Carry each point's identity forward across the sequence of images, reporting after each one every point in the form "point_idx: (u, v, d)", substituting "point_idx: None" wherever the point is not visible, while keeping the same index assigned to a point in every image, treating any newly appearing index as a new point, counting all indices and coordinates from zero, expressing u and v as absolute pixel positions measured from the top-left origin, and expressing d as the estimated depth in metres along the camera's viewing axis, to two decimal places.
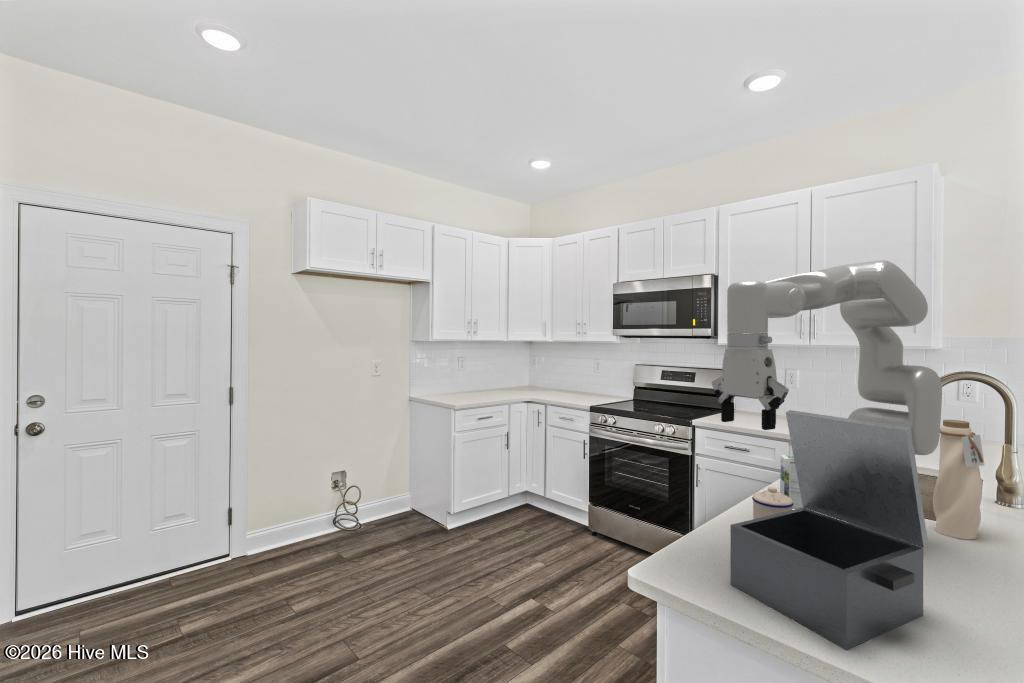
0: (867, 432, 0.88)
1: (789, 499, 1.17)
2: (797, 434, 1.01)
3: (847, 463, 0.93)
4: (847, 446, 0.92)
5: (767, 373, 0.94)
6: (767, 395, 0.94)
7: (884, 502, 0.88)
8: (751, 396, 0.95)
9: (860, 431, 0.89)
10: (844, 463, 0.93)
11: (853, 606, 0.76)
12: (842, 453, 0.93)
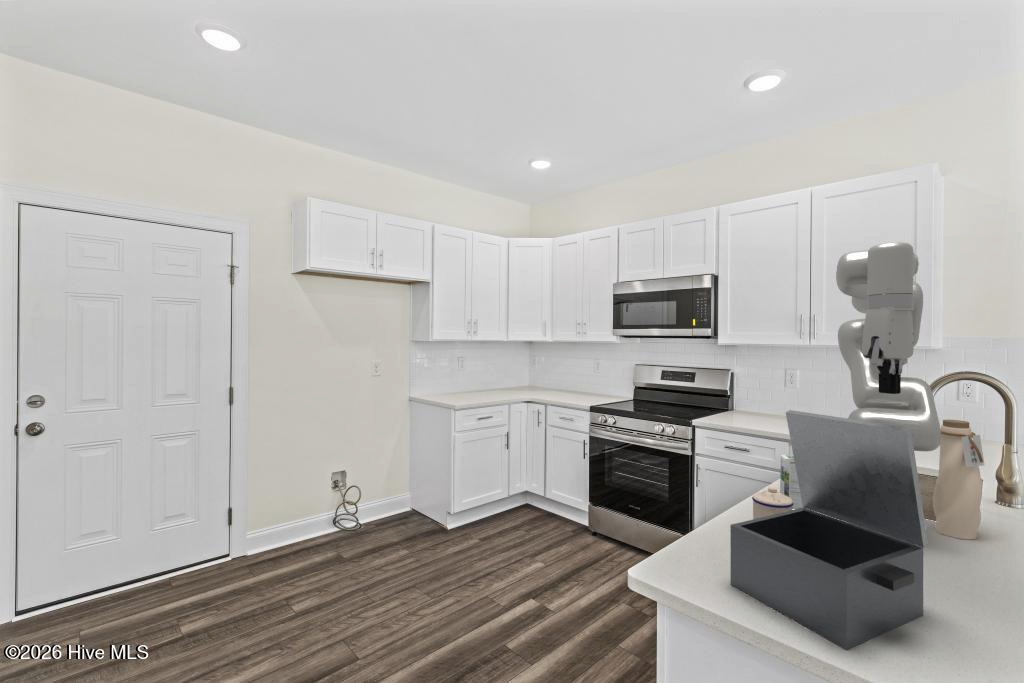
0: (867, 432, 0.88)
1: (789, 499, 1.17)
2: (797, 434, 1.01)
3: (847, 463, 0.93)
4: (847, 446, 0.92)
5: None
6: None
7: (884, 502, 0.88)
8: (908, 356, 0.98)
9: (860, 431, 0.89)
10: (844, 463, 0.93)
11: (853, 606, 0.76)
12: (842, 453, 0.93)
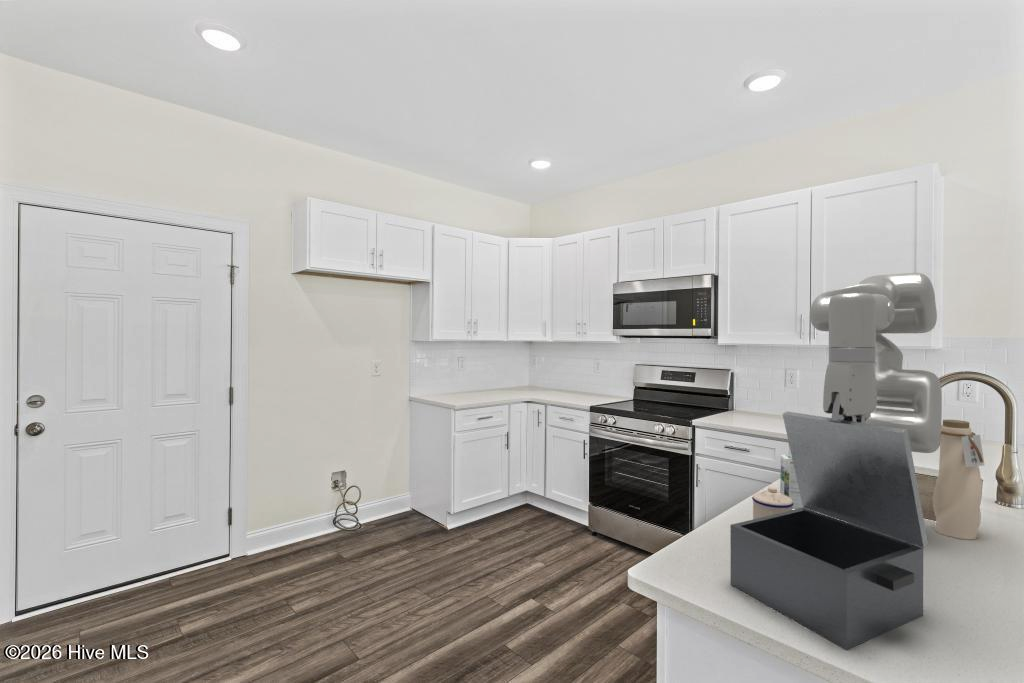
0: (864, 434, 0.87)
1: (789, 499, 1.17)
2: (795, 435, 1.00)
3: (845, 464, 0.92)
4: (845, 448, 0.92)
5: None
6: None
7: (883, 503, 0.88)
8: (871, 411, 0.93)
9: (857, 433, 0.88)
10: (842, 464, 0.93)
11: (853, 606, 0.76)
12: (840, 454, 0.93)
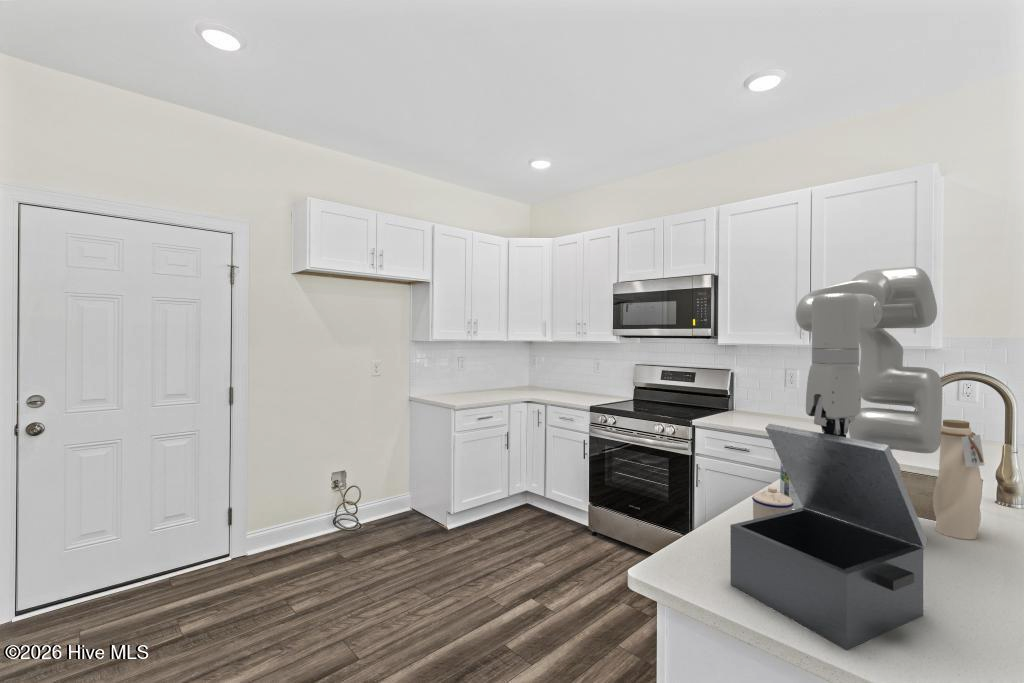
0: (847, 450, 0.85)
1: (789, 499, 1.17)
2: (781, 447, 0.99)
3: (835, 474, 0.91)
4: (831, 460, 0.90)
5: None
6: None
7: (878, 509, 0.88)
8: (854, 414, 0.91)
9: (840, 448, 0.86)
10: (832, 474, 0.92)
11: (853, 606, 0.76)
12: (828, 465, 0.91)
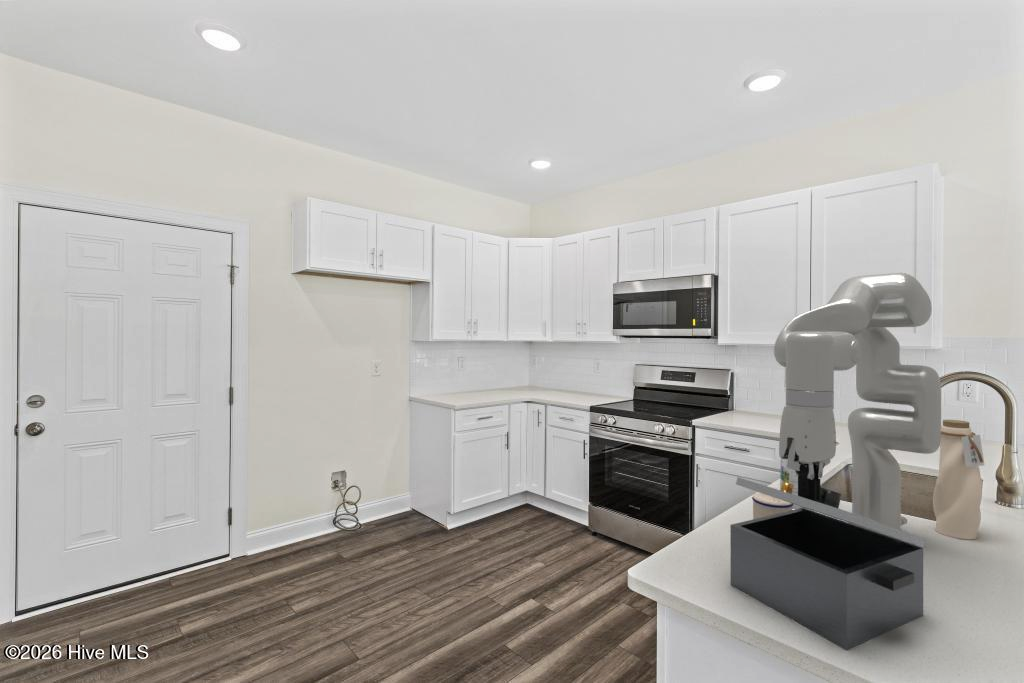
0: (818, 511, 0.82)
1: None
2: None
3: None
4: None
5: None
6: None
7: None
8: (829, 458, 0.87)
9: (812, 509, 0.83)
10: None
11: (853, 606, 0.76)
12: None
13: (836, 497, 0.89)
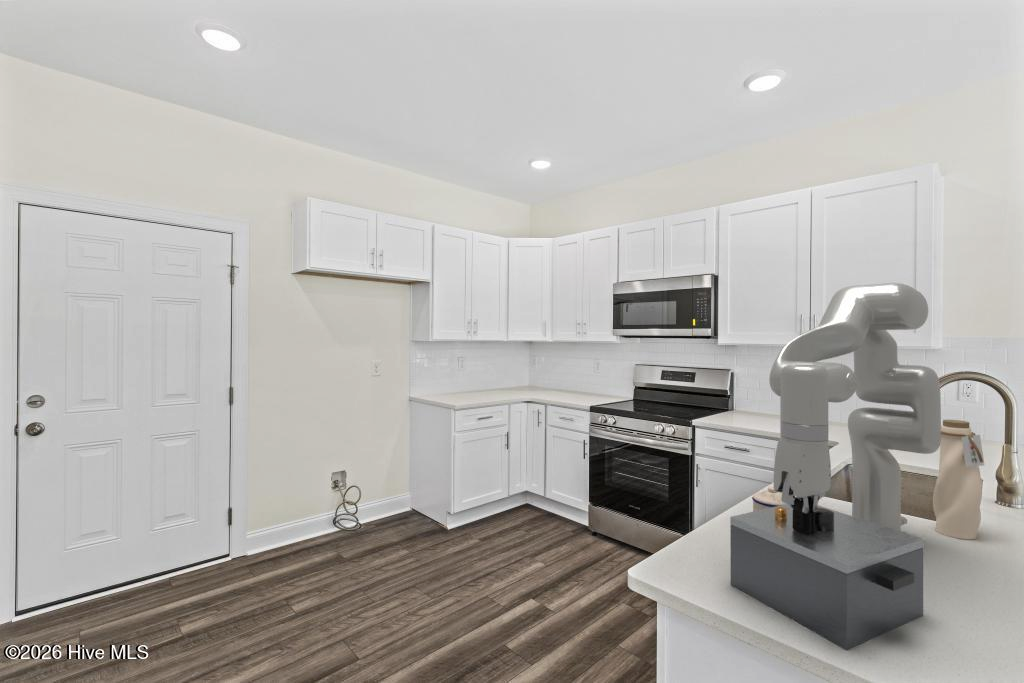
0: None
1: None
2: None
3: None
4: None
5: None
6: None
7: None
8: (824, 491, 0.87)
9: None
10: None
11: (853, 606, 0.76)
12: None
13: (829, 520, 0.88)
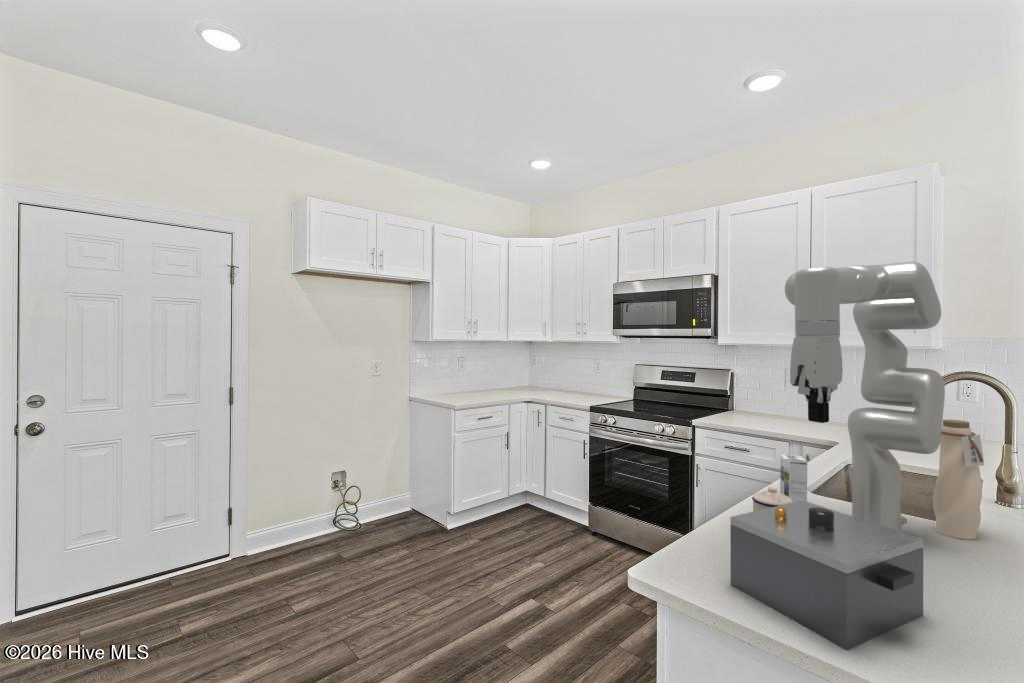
0: None
1: (789, 499, 1.17)
2: None
3: None
4: None
5: None
6: None
7: None
8: (836, 383, 0.95)
9: None
10: None
11: (853, 606, 0.76)
12: None
13: (829, 520, 0.88)
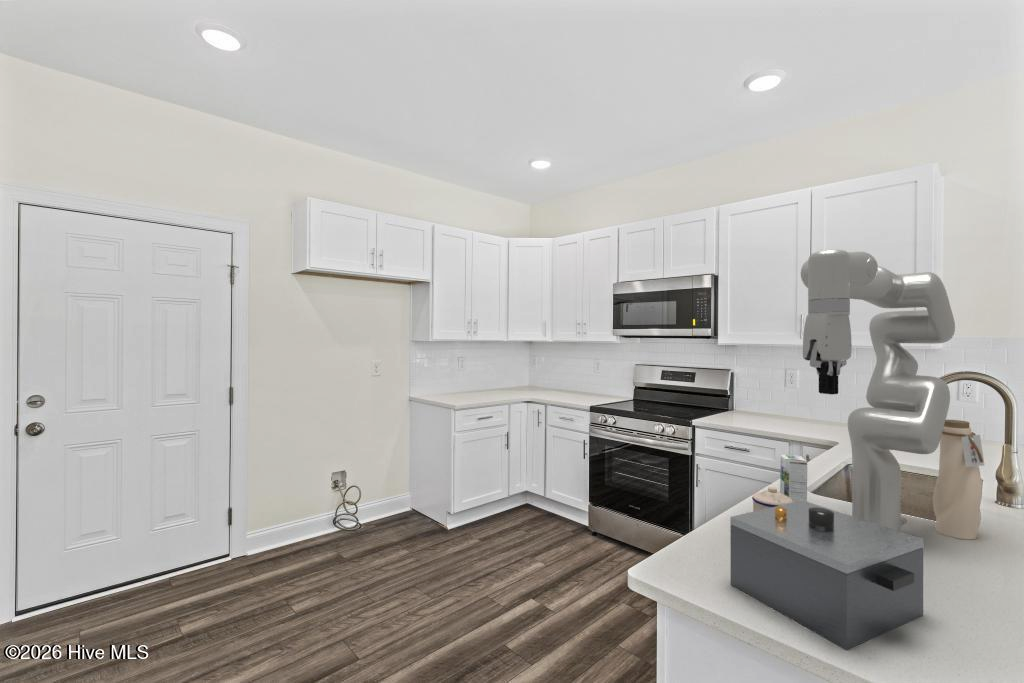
0: None
1: (789, 499, 1.17)
2: None
3: None
4: None
5: None
6: None
7: None
8: (846, 358, 1.02)
9: None
10: None
11: (853, 606, 0.76)
12: None
13: (829, 520, 0.88)
